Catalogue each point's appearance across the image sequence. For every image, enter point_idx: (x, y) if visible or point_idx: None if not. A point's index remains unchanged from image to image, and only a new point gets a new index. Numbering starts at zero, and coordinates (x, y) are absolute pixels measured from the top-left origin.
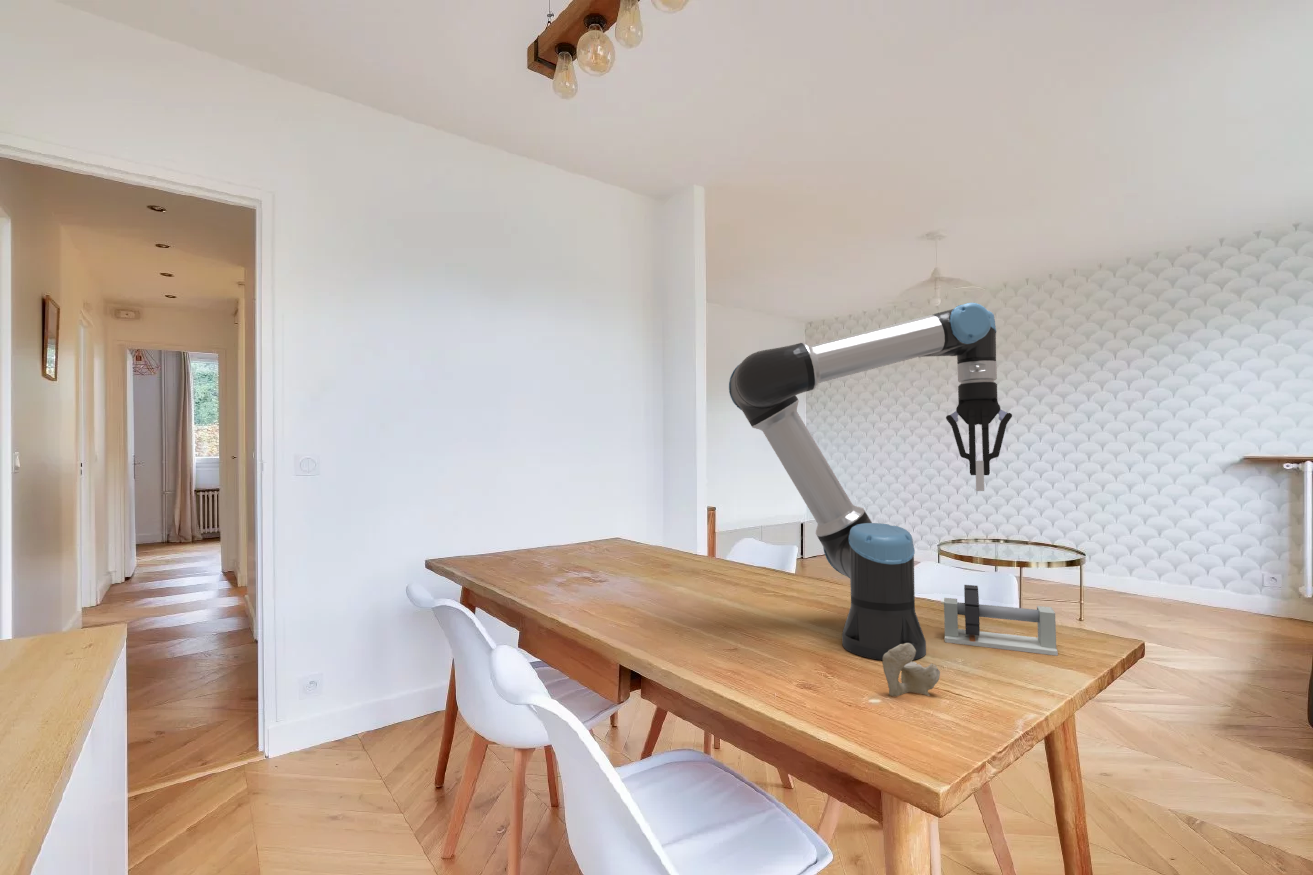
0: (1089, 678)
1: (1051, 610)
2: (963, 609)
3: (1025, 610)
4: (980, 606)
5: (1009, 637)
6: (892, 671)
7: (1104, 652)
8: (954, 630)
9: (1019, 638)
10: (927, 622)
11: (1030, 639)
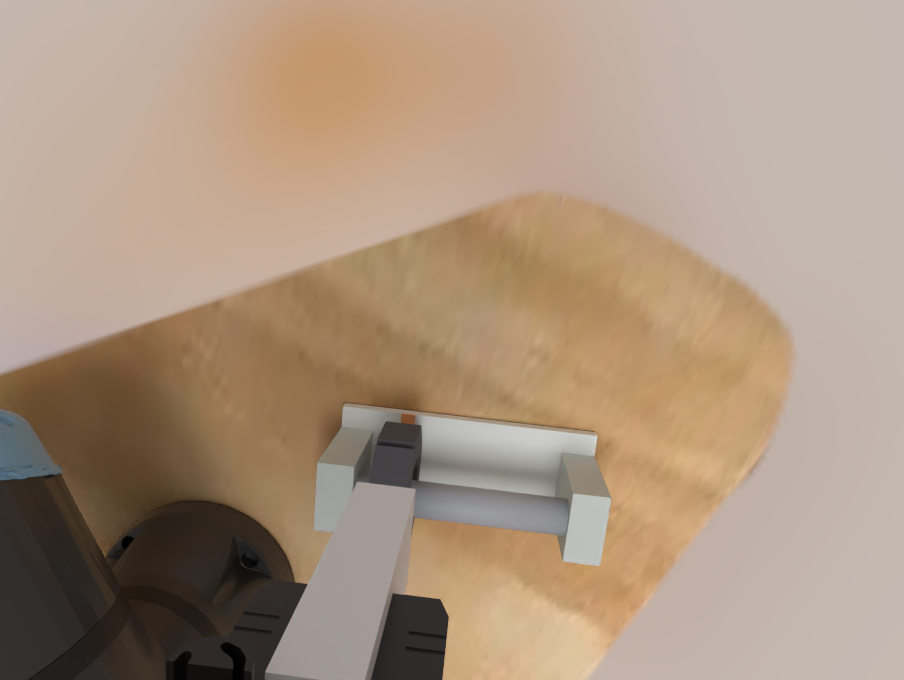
0: (597, 654)
1: (599, 537)
2: None
3: (531, 529)
4: (414, 516)
5: (494, 452)
6: None
7: (699, 472)
8: None
9: (517, 454)
10: (301, 324)
11: (543, 455)
